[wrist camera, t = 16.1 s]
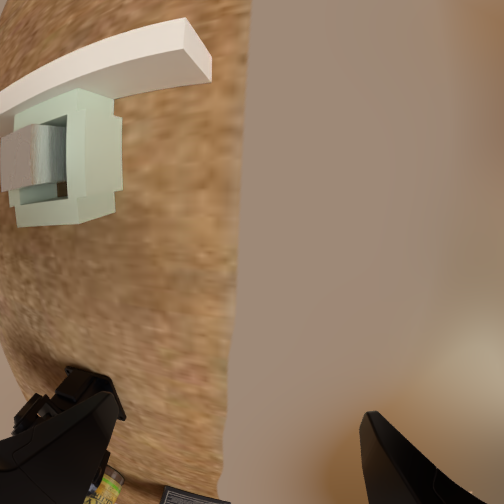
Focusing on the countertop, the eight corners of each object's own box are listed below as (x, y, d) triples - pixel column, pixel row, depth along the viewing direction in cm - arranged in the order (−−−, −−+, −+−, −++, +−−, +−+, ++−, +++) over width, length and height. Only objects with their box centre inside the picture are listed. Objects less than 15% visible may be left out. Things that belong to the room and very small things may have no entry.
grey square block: (96, 177, 19) (31, 185, 12) (64, 182, 19) (1, 192, 12) (95, 131, 18) (31, 123, 11) (63, 139, 18) (0, 138, 11)
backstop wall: (211, 82, 16) (183, 48, 10) (6, 137, 18) (-38, 139, 12) (211, 57, 16) (185, 17, 10) (7, 119, 18) (-36, 118, 12)
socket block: (124, 211, 19) (88, 223, 15) (47, 216, 20) (12, 227, 16) (123, 97, 17) (88, 84, 13) (45, 121, 18) (9, 118, 13)
